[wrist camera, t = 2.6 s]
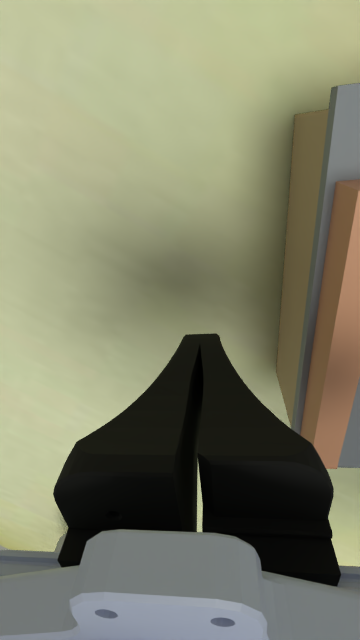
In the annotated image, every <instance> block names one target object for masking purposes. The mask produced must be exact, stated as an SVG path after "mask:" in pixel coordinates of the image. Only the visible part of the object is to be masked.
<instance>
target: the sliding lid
mask: <svg viewBox="0 0 360 640" xmlns="http://www.w3.org/2000/svg"><path fill="white" fill-rule="evenodd" d="M291 429H292V430H293V431H295V432H296V433H298V434H299V435H301V436H302V437H303V438H305V439H306V440H308V441H309V442H311V443H312V444H313V446H314V448H315V449H316V451H317V453H318V454H319V456H320V458H321V460H322V462H323V464H324V466H325V468H326V469H337V467H347V468H360V83H356V84H348V85H340V86H336V87H333V88H331V94H330V103H329V111H328V120H327V128H326V137H325V145H324V154H323V162H322V171H321V179H320V188H319V196H318V205H317V213H316V222H315V230H314V239H313V247H312V255H311V264H310V272H309V281H308V289H307V298H306V306H305V315H304V323H303V332H302V340H301V349H300V357H299V366H298V374H297V383H296V391H295V400H294V408H293V417H292V425H291Z"/></svg>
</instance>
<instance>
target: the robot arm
mask: <svg viewBox="0 0 360 640" xmlns="http://www.w3.org/2000/svg"><path fill="white" fill-rule="evenodd" d="M198 463H199V473H200V482H201V492H202V501H203V521H202V531H203V532H197V466H198ZM53 495H54V498H55V502H56V504H57V506H58V508H59V510H60V512H61V513H62V515H63V517H64V519H65V521H66V523H67V525H68V527H69V528H68V531H67V534H66V537H65V539H64V542H63V545H62V548H61V551H60V552H44V551H23V550H2V549H0V640H360V567H356V566H339V565H338V562H337V558H336V555H335V552H334V548H333V545H332V541H331V539H332V530H331V527H330V523H329V520H328V515H329V511H330V507H331V503H332V499H333V485H332V482H331V479H330V476H329V474H328V472H327V470H326V468H325V466H324V464H323V462H322V460H321V458H320V456H319V454H318V453H317V451H316V449H315V448H314V446H313V444H312V443H311V442H309V441H308V440H306V439H305V438H303V437H302V436H301V435H299V434H298V433H296V432H295V431H293V430H292V429H290V428H289V427H288V426H287V425H285V424H284V423H283V422H282V421H281V420H279V419H278V418H277V417H276V416H275V415H274V414H273V413H272V412H271V411H270V410H269V409H267V408H266V407H265V406H264V405H263V404H262V403H261V402H260V401H259V400H258V399H257V397H256V396H255V395H254V394H253V393H252V392H251V391H250V389H249V388H248V387H247V386H246V384H245V383H244V382H243V381H242V379H241V378H240V376H239V375H238V373H237V372H236V370H235V369H234V367H233V366H232V364H231V362H230V360H229V359H228V357H227V355H226V353H225V351H224V349H223V347H222V344H221V341H220V337H219V335H218V334H192V335H185V336H184V337H183V339H182V341H181V343H180V345H179V347H178V349H177V350H176V352H175V354H174V355H173V357H172V358H171V360H170V361H169V363H168V364H167V366H166V367H165V368H164V370H163V371H162V372H161V373H160V375H159V376H158V377H157V379H156V380H155V381H154V382H153V383H152V384H151V386H150V387H149V388H148V389H147V390H146V391H145V392H144V393H143V394H142V395H141V396H140V397H139V398H138V399H137V400H136V401H135V402H133V403H132V404H131V405H130V406H129V407H128V408H127V409H126V410H124V411H123V412H122V413H120V414H119V415H118V416H117V417H115V418H114V419H112V420H111V421H110V422H108V423H107V424H105V425H104V426H102V427H101V428H99V429H97V430H96V431H94V432H92V433H91V434H89V435H88V436H86V437H84V438H83V439H81V440H79V441H77V442H76V444H75V446H74V448H73V449H72V451H71V453H70V454H69V456H68V458H67V460H66V462H65V464H64V467H63V469H62V471H61V473H60V476H59V478H58V480H57V483H56V485H55V487H54V493H53Z"/></svg>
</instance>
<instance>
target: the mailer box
mask: <svg viewBox="0 0 360 640" xmlns="http://www.w3.org/2000/svg"><path fill="white" fill-rule="evenodd" d="M328 111H329V109H327V110H321V111H315V112H308V113H302V114H296V115H295V120H294V133H293V147H292V161H291V174H290V188H289V202H288V215H287V229H286V243H285V256H284V270H283V284H282V297H281V311H280V324H279V338H278V352H277V365H276V373H277V377H278V381H279V384H280V388H281V392H282V395H283V399H284V403H285V406H286V410H287V414H288V417H289V421H290V425H292V417H293V408H294V400H295V391H296V383H297V374H298V366H299V357H300V349H301V340H302V332H303V323H304V315H305V306H306V298H307V289H308V281H309V272H310V264H311V255H312V247H313V239H314V230H315V222H316V213H317V205H318V196H319V188H320V179H321V171H322V162H323V154H324V145H325V137H326V128H327V120H328Z"/></svg>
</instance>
